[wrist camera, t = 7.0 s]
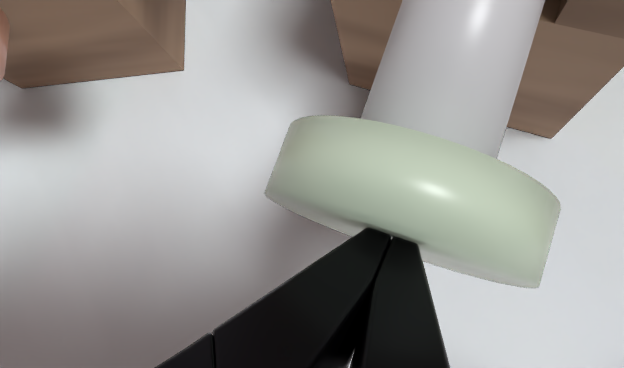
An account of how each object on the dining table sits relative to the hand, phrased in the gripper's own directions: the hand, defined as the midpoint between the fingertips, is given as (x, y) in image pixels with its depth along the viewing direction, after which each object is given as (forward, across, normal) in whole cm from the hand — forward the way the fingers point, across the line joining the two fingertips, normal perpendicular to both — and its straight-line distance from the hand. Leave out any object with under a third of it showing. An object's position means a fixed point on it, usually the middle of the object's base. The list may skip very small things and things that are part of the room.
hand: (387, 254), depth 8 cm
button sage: (+5, 0, -1) cm, 5 cm away
